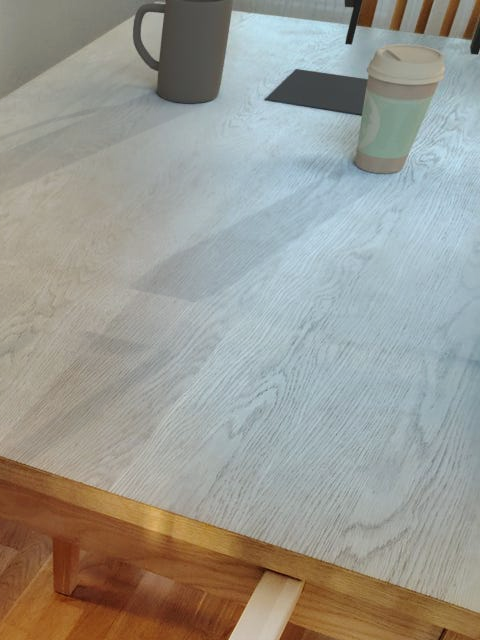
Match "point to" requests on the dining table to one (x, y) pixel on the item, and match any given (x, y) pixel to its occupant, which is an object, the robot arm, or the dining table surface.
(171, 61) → the mug
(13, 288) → the dining table surface
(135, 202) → the dining table surface
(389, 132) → the coffee cup
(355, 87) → the placemat
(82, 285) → the dining table surface
